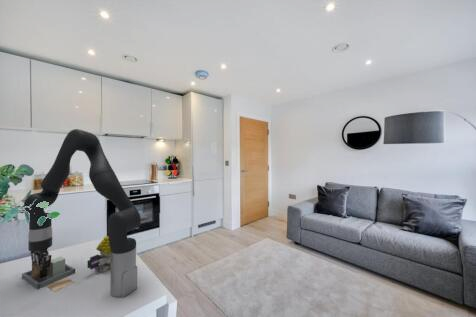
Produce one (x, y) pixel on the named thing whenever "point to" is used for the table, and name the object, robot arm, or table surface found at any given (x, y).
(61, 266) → the sage block
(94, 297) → the table surface
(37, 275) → the walnut block
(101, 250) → the toy
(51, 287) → the cork pad
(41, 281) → the tray
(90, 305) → the table surface
